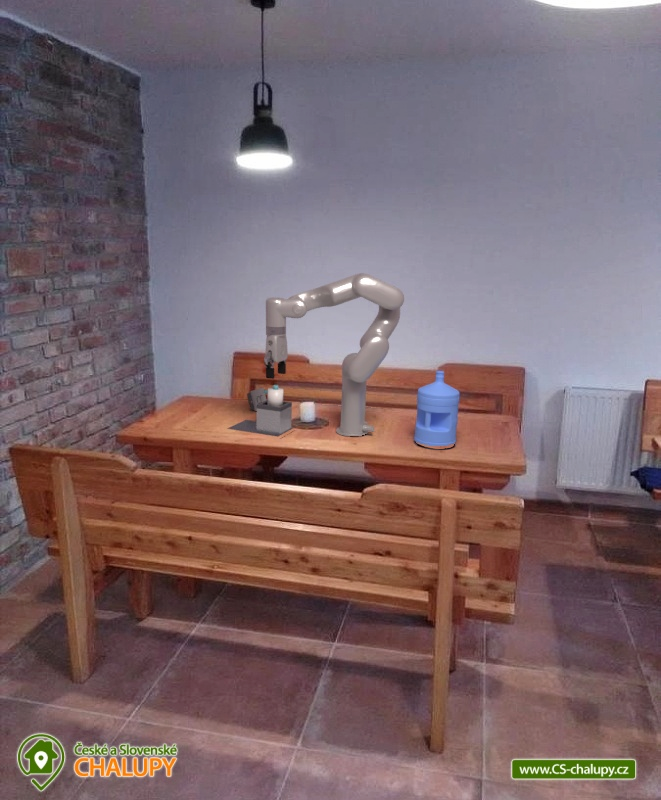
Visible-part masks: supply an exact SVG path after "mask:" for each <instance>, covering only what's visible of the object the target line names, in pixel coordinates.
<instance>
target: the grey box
mask: <svg viewBox="0 0 661 800" xmlns="http://www.w3.org/2000/svg"><path fill="white" fill-rule="evenodd" d="M292 405H293V403H292V402H291V401H286V400H285V401H284V400H283V405H282V406H279V407H277V406H270V405H267V399H266V401H264V402H261V403H259V404H257V412H256V420H251V419H245V420H243V421H241V422H240V421H239V422H238V423H236V424H233V425H232V426H230V427H227V428H226V429H227V430H232V431H233V430H234V431H238V432H247V433H253V434H258V435H266V436H271V437H280V436H282V435H284V434H286V433H287V432H289V431H291V430H292V429H295V426H292V416H293V415H292V409H293V406H292ZM295 431H296V430H293V431H291V432H289V433H287V434H286V435H287V436H288V435H290V434H292V433H293V432H295ZM286 435H284V436H282V437H281V439H283V438H284V437H286Z"/></svg>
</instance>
